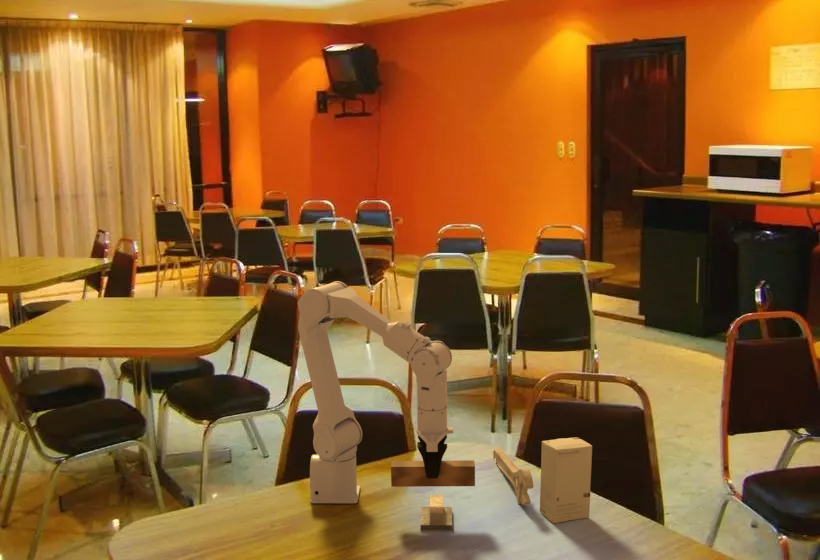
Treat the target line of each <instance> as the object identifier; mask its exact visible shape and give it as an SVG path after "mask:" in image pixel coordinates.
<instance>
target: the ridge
mask: <svg viewBox="0 0 820 560" xmlns="http://www.w3.org/2000/svg"><path fill="white" fill-rule="evenodd" d="M420 507H421V508H420V523H419V524H420V527H419V528H420V531H453V510H452V509H453V506H444V494H429V506H420Z"/></svg>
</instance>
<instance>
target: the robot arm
mask: <svg viewBox="0 0 820 560" xmlns="http://www.w3.org/2000/svg"><path fill="white" fill-rule="evenodd" d="M296 303H297V308H298V311H299V316H298V317H299V318H298V324H297V329H298V330H297V331H298V334H299V338H300V342H301V343H300V344H301V347H302V351H303V354H304V355H303V356H304V359H305V362H306V367H307V371H308V375H309V379H310V384H311V387H312V391H313V396H314V399H315V403H316V408H317V415H316V417H315V419H314V422H313V424H312V429H313V440H312V444H313V445H312V446H313V449H314V451H315V453H316V454H314V453H313V454H312V455H311V457H310V464H309V482H310V483H309V486H310V487H309V489H310V500H309V501H310V503H311V504H357V503H358V500H359V495H360V491H361V485H358V483H357V480H358V479H357V451H358V445H359V444H360V443H361V442H362V439H363V430H362V429H363V428H362V427H361V425H360V423H359V422H358V420H357V419H356V416H355V413H354V412H355V411H354V410H352V409H351V408H349V407H348V406H347V405H345V401H344V400H345V399H344V397H343V393H342V388H341V383H340V381H339V375H338V372H337V368H336V365H335V364H336V363H335V360H334V355H333V351H332V347H331V344H330V339H329V338H330V337H329V336H328V330H329V328H330V327H331V326H332V324H333V322H334V321H335V320H336V319H341V318H350V319H352V320H353V321H355V322H357V323H358V324H360V325H362V326H363V327H365V328H367V329H368V330H369V331H371V332H373V333H375V334H377V335H378V336H380V337H381V338H382V344H383V346H384V347H386V348H387V349H389V351H391V352H393V353H394V354H396V355H397V356H398V357H400V358H401V359H403V360H404V361H406V362H407V363H408V364H410V368H411V370H412V371H413V374H414V375H415V378H416V380H415V381H416V428H415V429H416V430H415V431H416V432H415V433H416V435H417V439H418V441H417V445H416V446H417V450H418V452H419V454H420V455H421V458H422V461H423V462H424V466H425V472H426V476H427V478H438V476H439V472H440V466H441V461H443V458H444V455H445V453H446V451H447V449H448V443H446V440H447V438H448V435H450V434H454V427H453V426H448V370H447V369H448V368H449V367H450V366H451V363H452V361H453V356H452V355H453V354H452V352H451V349H450V347H448V345H446V344H445V343H444V342H443V341H441V340H431V338H430V337H428V336H424V335H422V334H421V333H419V331H417V330H415V329H414V328H413V327H412V325H411V323H409V321H404V322H403V321H401V320H398V321H394V322H393V321H391V320H390V319H389V318H387V317H386V316H385V315H383V314H382V313H381V312H379V310H377V309H375V308H374V307H373V306H372V305H370V303H368V302H366V301H365V300H364V299H363V298H361V297H360V296H359V295H358V294H357V292H356V290H355V289H354V288H352V287H349V286H348V285H347V284H346V283H344V282H342V281H339V280H337V281H336V280H335V281H332V282H330V283H327V284H323V285H321V286H317V287H313V288H308V289H307V290H305V291H304V292H303V294H302V295H301V296H300V298H299V299H298V300H297V302H296Z"/></svg>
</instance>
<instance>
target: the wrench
mask: <svg viewBox="0 0 820 560" xmlns="http://www.w3.org/2000/svg"><path fill="white" fill-rule="evenodd" d="M492 452H493V453H492V457H493V460H494V459H495V458H496V463H497V464H496V463H495V464H496V466H497V465H498V466H497V467H498V468H499V469H500V471H501V472H502V473H503V474H504V475H505V477H506V478H507V479H508V480H509V482H510V483H511V484H512V486H513V488H514V492H515V495H516V499H517V500H516V501H517V504H518V505H523V506H528V505H530V504H531V499H530V494H529V493H528V489H531V490H532V489H534V481H533V476H532V472H531V470H530V469H529V468H528V467H527V468H518V467H517V466H516V465H515V464H514V462H513V461H512V460H511V459H510V458H509V457H508V456H507V454H506V452H504V450H503V449H501V448H499V449H497V448H496V449H495V448H494V449H493V451H492Z"/></svg>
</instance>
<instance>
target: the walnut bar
mask: <svg viewBox="0 0 820 560" xmlns="http://www.w3.org/2000/svg"><path fill="white" fill-rule="evenodd" d="M475 463H476V462H475V460H473V459H472V460H469V459H468V460H442V461H441V466H440V472H439V476H438V478H427V476H426V472H425V466H424V462H423V460H391V463H390V484H391V487H393V488H394V487H404V488H405V487H407V488H408V487H410V488H411V487H413V488H414V487H415V488H416V487H417V488H418V487H420V488H421V487H423V488H424V487H476V464H475Z"/></svg>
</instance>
